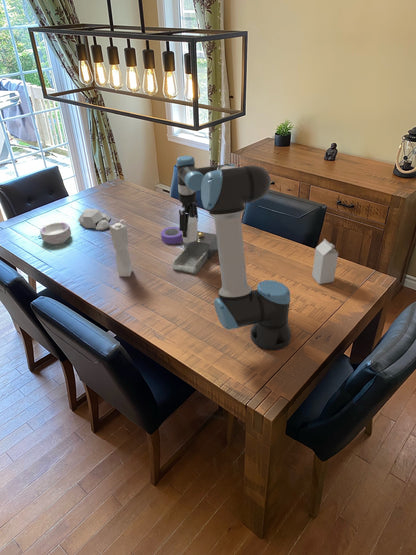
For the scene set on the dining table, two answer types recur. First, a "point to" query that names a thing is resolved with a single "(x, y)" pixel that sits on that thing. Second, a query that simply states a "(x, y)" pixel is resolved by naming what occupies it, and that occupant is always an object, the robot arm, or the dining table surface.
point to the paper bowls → (55, 233)
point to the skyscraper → (121, 248)
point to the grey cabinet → (196, 253)
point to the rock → (94, 219)
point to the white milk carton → (325, 263)
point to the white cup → (192, 229)
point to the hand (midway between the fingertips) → (189, 238)
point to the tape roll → (175, 234)
